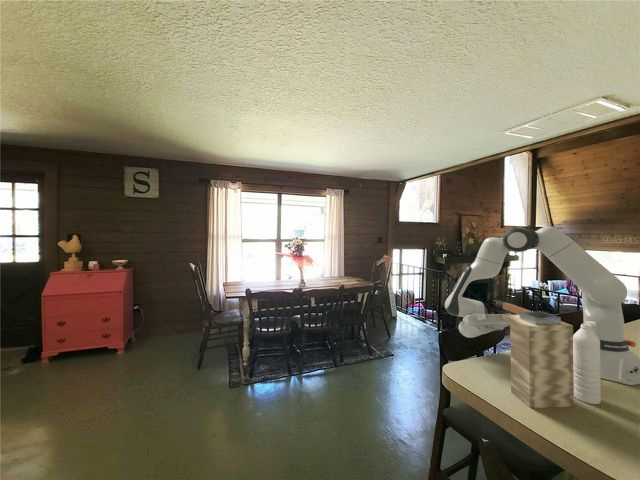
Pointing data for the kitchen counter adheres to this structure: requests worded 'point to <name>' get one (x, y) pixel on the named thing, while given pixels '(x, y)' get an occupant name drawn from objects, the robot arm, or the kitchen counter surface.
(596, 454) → the kitchen counter surface
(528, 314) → the shovel
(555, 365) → the stand
